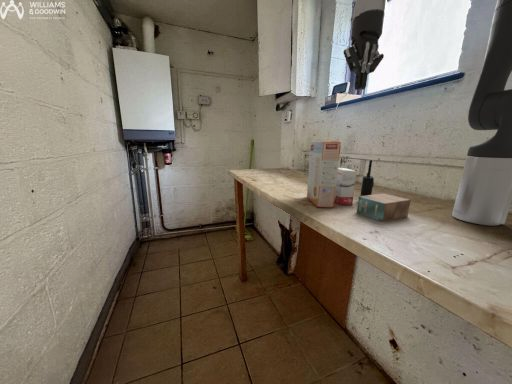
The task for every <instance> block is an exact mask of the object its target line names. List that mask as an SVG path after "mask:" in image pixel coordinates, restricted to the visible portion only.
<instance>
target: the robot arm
mask: <svg viewBox="0 0 512 384" xmlns="http://www.w3.org/2000/svg"><path fill="white" fill-rule="evenodd" d="M387 5H388V0H355V4H354V7H353V13H352V25H351V33H350V34H351V35H350V40H351V43H350V46H349V47H347V48H345V49H344V50H343V56H344V58H345V61H346V63H347V67H348V69H349V71H350V73H354V76H355V79H354V90H355V91H363V90H365V89H366V87H367V82H368V81H367V80H368V76H369V74H372V73H374V72H375V71H376V69H377V68H378V67H379V65H380V63H381V62H382V60H383V59H384V53H381V54H380V52H379V46H380V45H379V40H380V38H381V37H382V35H383V34H384V24H385V19H386V13H387V12H386V11H387ZM511 73H512V0H496V5H495V8H494V11H493V17H492V21H491V26H490V31H489V37H488V42H487V46H486V51H485V55H484V59H483V63H482V67H481V71H480V75H479V77H478V81H477V84H476V86H475V89H474V92H473V95H472V98H471V102H470V105H469V109H468V114H467V115H468V116H467V122H468V125H469V127H470V128H471V129H473V130H475V131H492V130H493V131H494V130H495V131H496V133H495V134H494V135H493V136H492V137H490V138H489V139H486V140H485V141H482V142H478V143H475V144H471V145H470V146H469V147H468V149H467V150H468V151H467V154H466V158H465V161H464V166H463V170H462V174H461V177H460V181H459V186H458V189H457V195H456V198H455V203H454V206H453V210H452V215H451V216H452V217H453V218H455V219H458V220H459V221H464V222H466V223H471V224H476V225H477V224H478V225H483V226H496V227H497V226H500V225H505V223H506V220H507V217H508V214H509V212H510V208H511V205H512V88H511V89H506V85H507V82H508V80H509V78H510V75H511Z"/></svg>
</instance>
